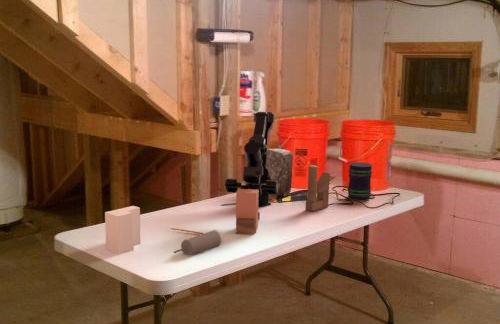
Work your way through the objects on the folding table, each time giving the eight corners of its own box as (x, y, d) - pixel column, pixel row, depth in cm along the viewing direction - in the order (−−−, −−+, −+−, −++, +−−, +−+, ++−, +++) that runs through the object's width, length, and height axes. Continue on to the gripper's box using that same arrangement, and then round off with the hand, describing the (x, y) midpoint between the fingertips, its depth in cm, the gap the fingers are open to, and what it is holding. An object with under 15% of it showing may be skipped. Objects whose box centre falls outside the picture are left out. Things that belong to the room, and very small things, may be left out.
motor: (231, 242, 175) (229, 227, 175) (181, 261, 158) (179, 244, 158) (181, 239, 190) (179, 225, 190) (131, 255, 173) (129, 240, 173)
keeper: (238, 226, 192) (238, 188, 190) (257, 227, 191) (258, 189, 189) (236, 230, 187) (236, 192, 185) (256, 231, 186) (256, 193, 184)
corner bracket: (119, 254, 163) (118, 216, 161) (97, 246, 170) (96, 209, 168) (147, 246, 171) (146, 209, 169) (125, 238, 178) (124, 203, 176)
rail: (245, 217, 204) (245, 205, 203) (260, 218, 203) (261, 205, 202) (236, 233, 185) (236, 219, 184) (253, 234, 184) (253, 220, 183)
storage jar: (347, 200, 233) (349, 166, 231) (347, 194, 243) (348, 162, 240) (371, 201, 232) (373, 167, 229) (369, 195, 241) (371, 162, 239)
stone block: (263, 192, 245) (264, 148, 242) (274, 190, 250) (275, 147, 246) (283, 197, 235) (284, 152, 232) (294, 195, 240) (296, 151, 236)
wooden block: (328, 207, 221) (330, 164, 218) (312, 212, 214) (313, 167, 210) (321, 205, 224) (323, 162, 220) (305, 210, 216) (306, 166, 213)
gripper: (225, 156, 194) (219, 193, 185) (277, 158, 192) (273, 196, 183) (229, 173, 203) (223, 209, 195) (279, 175, 201) (275, 212, 192)
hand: (248, 206), depth 191 cm, fingers closed
